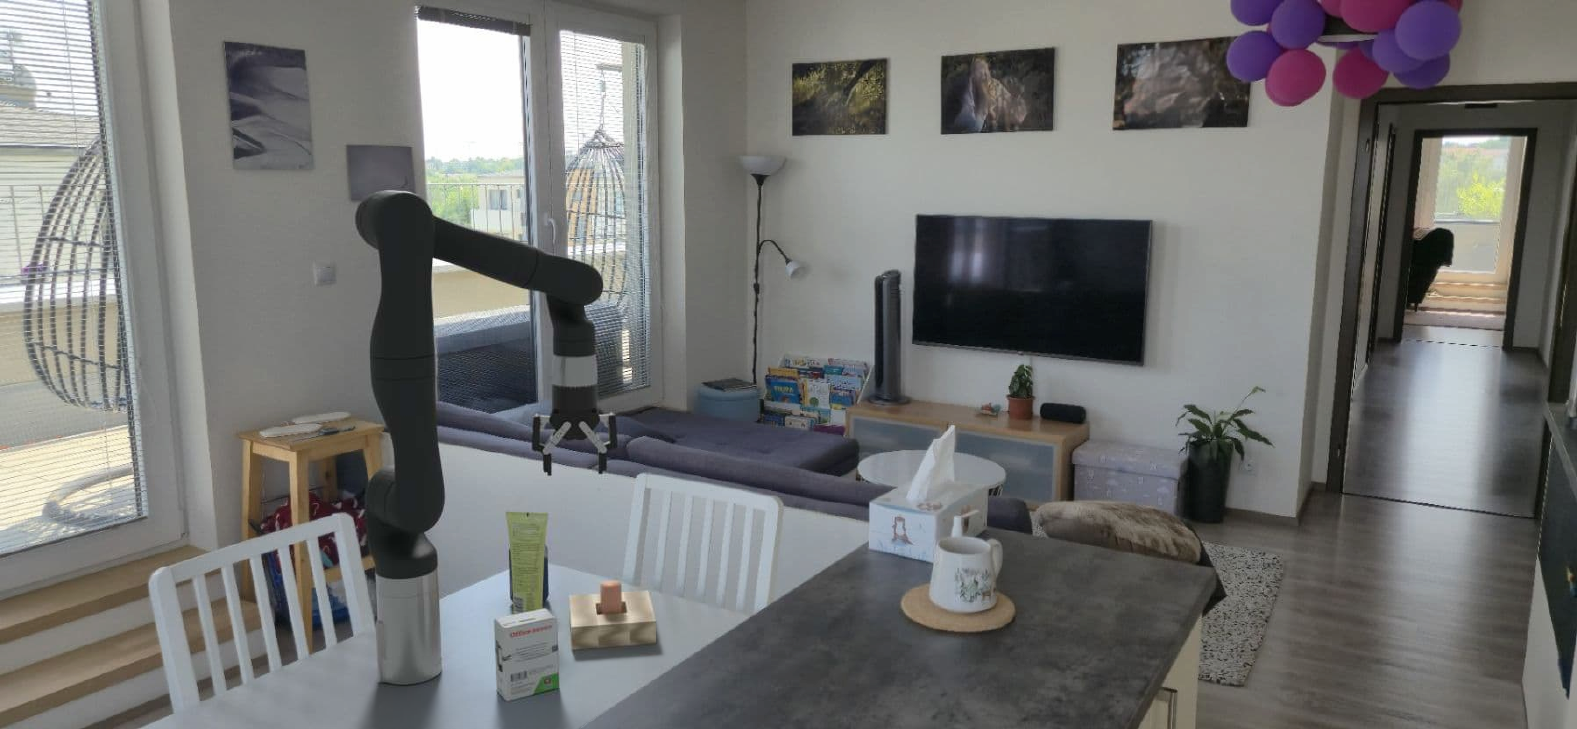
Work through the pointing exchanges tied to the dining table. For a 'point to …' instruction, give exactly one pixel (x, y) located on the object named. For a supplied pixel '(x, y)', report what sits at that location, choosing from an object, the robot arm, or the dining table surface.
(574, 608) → the socket
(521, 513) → the tube
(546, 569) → the soda can
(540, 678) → the ink box
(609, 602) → the peg
